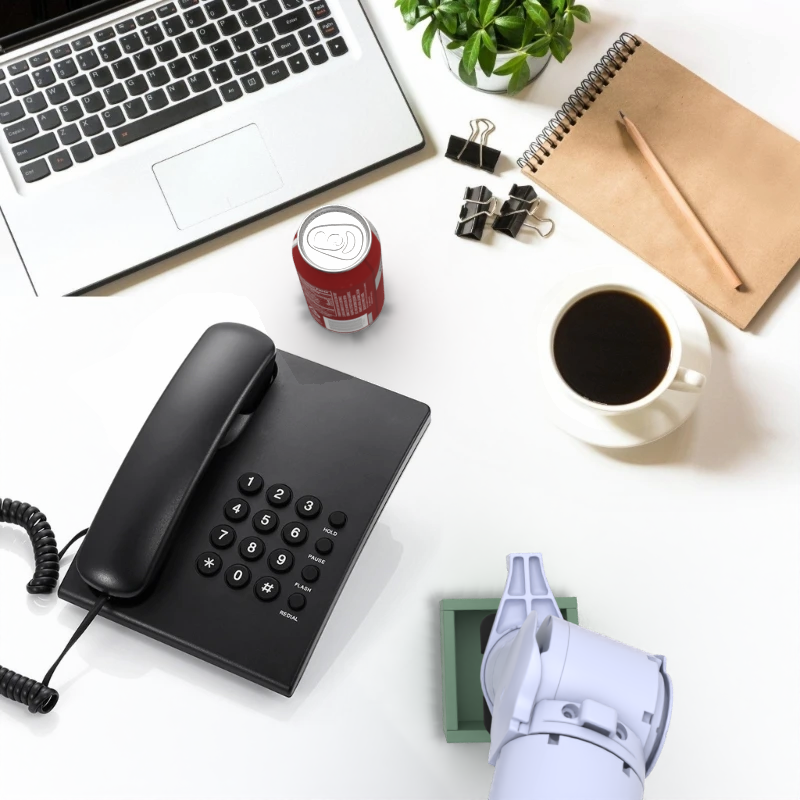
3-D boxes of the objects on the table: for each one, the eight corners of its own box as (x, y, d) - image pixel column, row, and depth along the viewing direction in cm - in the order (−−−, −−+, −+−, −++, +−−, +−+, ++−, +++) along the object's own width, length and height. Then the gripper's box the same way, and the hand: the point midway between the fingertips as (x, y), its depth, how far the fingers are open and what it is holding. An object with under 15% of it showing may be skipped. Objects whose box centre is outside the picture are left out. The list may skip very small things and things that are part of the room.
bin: (569, 729, 61) (587, 741, 55) (442, 731, 61) (446, 743, 55) (560, 599, 64) (576, 596, 57) (439, 600, 64) (442, 598, 58)
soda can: (378, 342, 69) (371, 286, 58) (301, 330, 70) (280, 272, 58) (390, 270, 71) (387, 202, 60) (315, 260, 72) (297, 190, 60)
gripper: (631, 830, 41) (577, 780, 54) (608, 545, 45) (563, 562, 58) (494, 832, 41) (473, 781, 54) (482, 547, 45) (465, 563, 58)
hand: (513, 668), depth 56 cm, fingers closed
